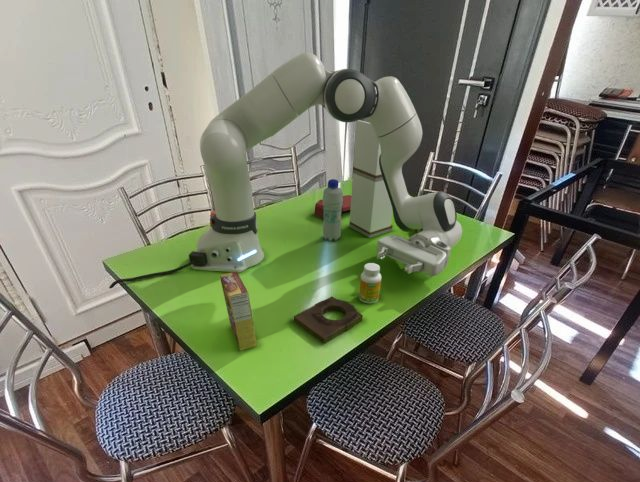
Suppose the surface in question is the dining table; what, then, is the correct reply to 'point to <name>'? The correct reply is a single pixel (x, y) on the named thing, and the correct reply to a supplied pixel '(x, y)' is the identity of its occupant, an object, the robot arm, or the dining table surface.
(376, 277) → the supplement bottle
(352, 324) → the holder
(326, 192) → the bottle
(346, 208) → the carton
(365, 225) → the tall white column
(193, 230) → the dining table surface
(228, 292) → the candy box
